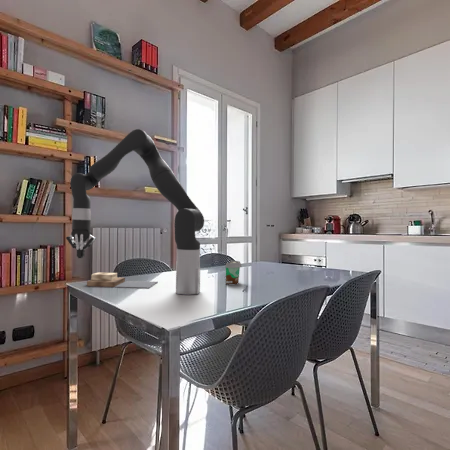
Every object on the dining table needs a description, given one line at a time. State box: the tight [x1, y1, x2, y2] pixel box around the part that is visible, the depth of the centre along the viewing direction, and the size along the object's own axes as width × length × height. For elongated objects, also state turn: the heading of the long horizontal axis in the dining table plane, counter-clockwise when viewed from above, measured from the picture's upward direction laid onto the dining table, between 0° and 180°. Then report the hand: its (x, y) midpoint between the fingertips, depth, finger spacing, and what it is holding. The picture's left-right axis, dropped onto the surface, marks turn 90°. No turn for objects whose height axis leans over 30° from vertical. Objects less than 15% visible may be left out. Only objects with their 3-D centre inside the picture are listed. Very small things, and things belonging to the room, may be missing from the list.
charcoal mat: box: [114, 280, 159, 289], centre depth 144 cm, size 14×14×1 cm
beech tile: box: [90, 272, 118, 281], centre depth 144 cm, size 9×6×2 cm, turn 87°
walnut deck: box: [86, 276, 126, 288], centre depth 144 cm, size 12×12×2 cm
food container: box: [225, 260, 242, 285], centre depth 153 cm, size 12×6×10 cm, turn 168°
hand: (80, 258), depth 145 cm, fingers closed
